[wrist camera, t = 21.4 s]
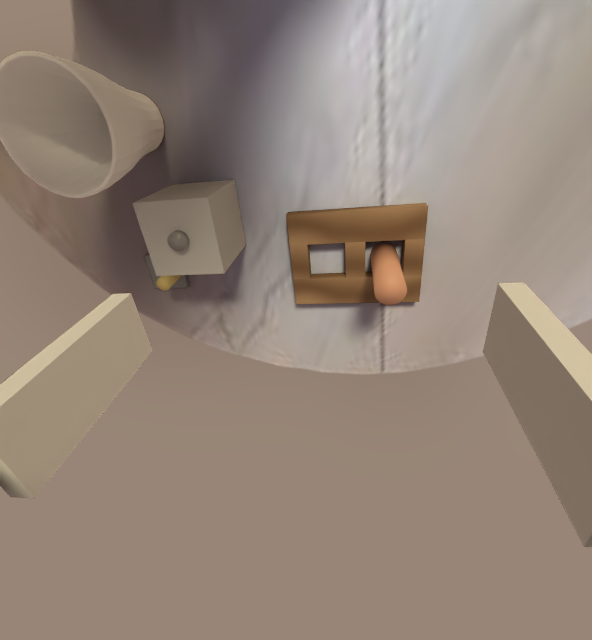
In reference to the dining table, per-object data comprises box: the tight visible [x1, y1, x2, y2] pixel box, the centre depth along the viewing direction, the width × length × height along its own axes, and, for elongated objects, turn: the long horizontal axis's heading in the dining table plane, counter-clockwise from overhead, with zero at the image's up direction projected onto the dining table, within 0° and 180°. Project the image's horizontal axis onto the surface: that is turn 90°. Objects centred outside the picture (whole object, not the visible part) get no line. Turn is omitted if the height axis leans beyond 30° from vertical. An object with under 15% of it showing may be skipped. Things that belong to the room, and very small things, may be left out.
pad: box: [144, 254, 189, 291], centre depth 47 cm, size 5×5×5 cm
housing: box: [132, 179, 246, 276], centre depth 40 cm, size 8×8×10 cm
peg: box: [371, 242, 407, 305], centre depth 40 cm, size 3×3×10 cm
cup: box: [0, 51, 164, 198], centre depth 34 cm, size 10×10×14 cm
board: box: [286, 203, 428, 304], centre depth 44 cm, size 12×16×2 cm
